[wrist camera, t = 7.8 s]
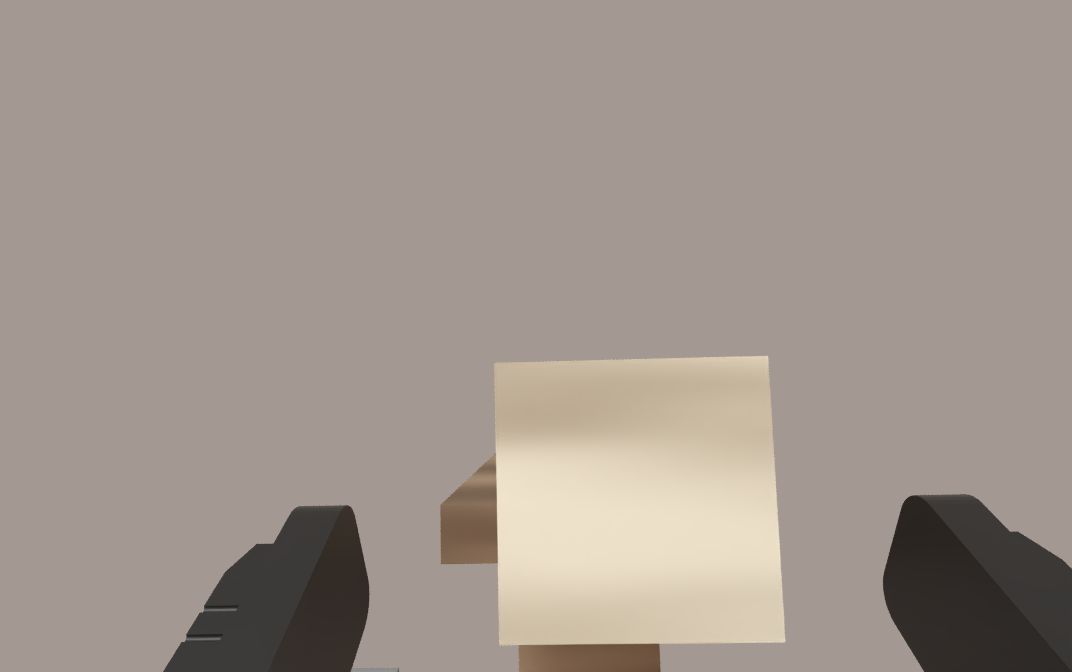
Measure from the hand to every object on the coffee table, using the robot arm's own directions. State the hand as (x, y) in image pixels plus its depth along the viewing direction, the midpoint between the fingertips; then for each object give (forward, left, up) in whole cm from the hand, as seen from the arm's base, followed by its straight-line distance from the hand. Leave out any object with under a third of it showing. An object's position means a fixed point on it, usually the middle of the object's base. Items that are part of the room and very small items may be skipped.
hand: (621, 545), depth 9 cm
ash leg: (-2, -10, -1) cm, 10 cm away
